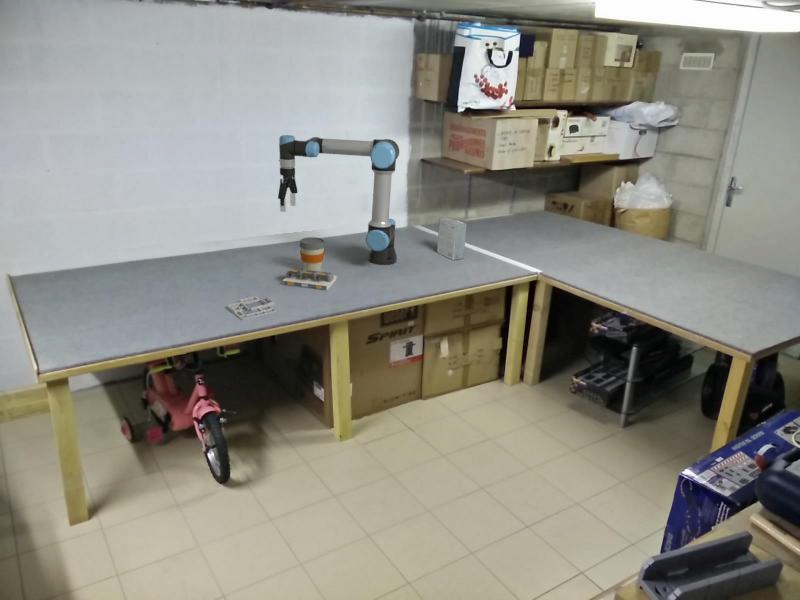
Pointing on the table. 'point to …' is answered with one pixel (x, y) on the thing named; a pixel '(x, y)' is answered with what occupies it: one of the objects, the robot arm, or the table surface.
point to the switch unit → (309, 280)
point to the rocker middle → (309, 273)
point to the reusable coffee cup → (312, 253)
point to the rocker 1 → (295, 271)
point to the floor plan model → (239, 309)
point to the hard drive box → (451, 238)
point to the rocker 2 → (323, 274)
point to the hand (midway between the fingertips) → (288, 208)
